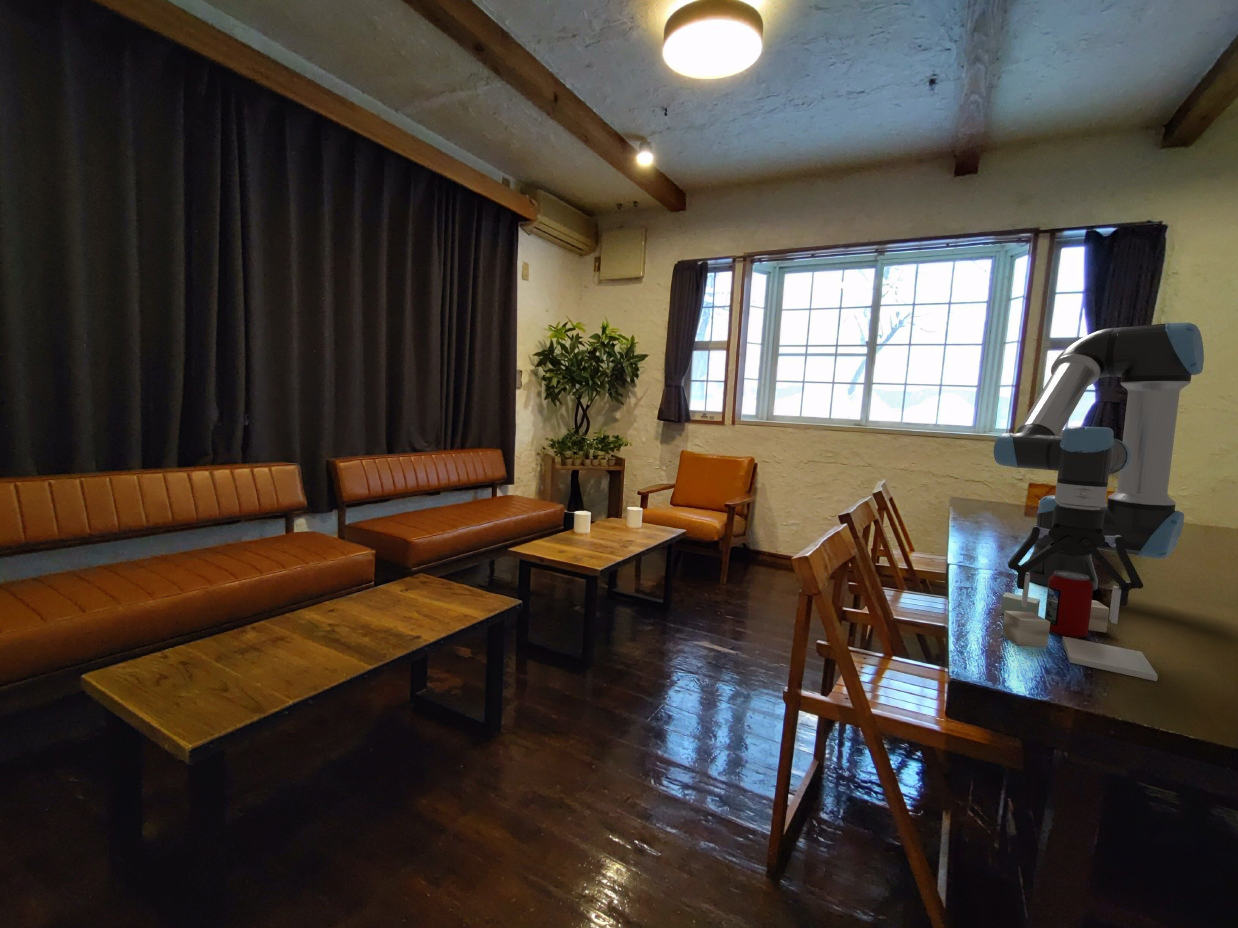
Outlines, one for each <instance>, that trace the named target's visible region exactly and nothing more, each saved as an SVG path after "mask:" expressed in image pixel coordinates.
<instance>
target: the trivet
mask: <svg viewBox="0 0 1238 928" xmlns="http://www.w3.org/2000/svg"><path fill="white" fill-rule="evenodd" d="M1061 638H1062V639H1061V643H1062V646H1063V649H1064V651H1065V653H1066V657H1067V659H1068V661H1069V663H1071V664H1076V665H1081V666H1084V667H1090V668H1095V669H1097V670H1103V671H1108V672H1112V673H1117V674H1123V675H1126V676H1131V677H1135V678H1140V679H1144V680H1150V681H1152V682H1153V681H1154V682H1157V681H1158V676H1159V675H1158V674H1157V672H1156V670H1154V668H1153V667H1152V665H1151V663H1150V662H1149V661H1148V659H1147V658H1146V656H1145V655H1144V654H1143V652H1142V651H1141V650H1140V651H1139V650H1133V649H1129V648H1124V647H1119V646H1115V645H1110V644H1104V643H1098V642H1094V641H1088V640H1085V639H1080V638H1077V639H1075V638H1069V637H1064V636H1061Z"/></svg>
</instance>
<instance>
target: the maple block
mask: <svg viewBox="0 0 1238 928" xmlns="http://www.w3.org/2000/svg"><path fill="white" fill-rule="evenodd" d="M1049 629H1050V621H1048V620H1046V619H1045V617H1042V616H1040V615H1039V614H1038V615H1036V614H1034V613H1032V612H1020V611H1004V614H1003V623H1002V637H1005V638H1006V639H1007V640H1009V641H1010V642H1012V643H1014V644H1015V645H1017V646H1018V647H1028V648H1029V647H1030V648H1046V649H1047V648H1048V646H1049V637H1050V630H1049Z"/></svg>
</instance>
